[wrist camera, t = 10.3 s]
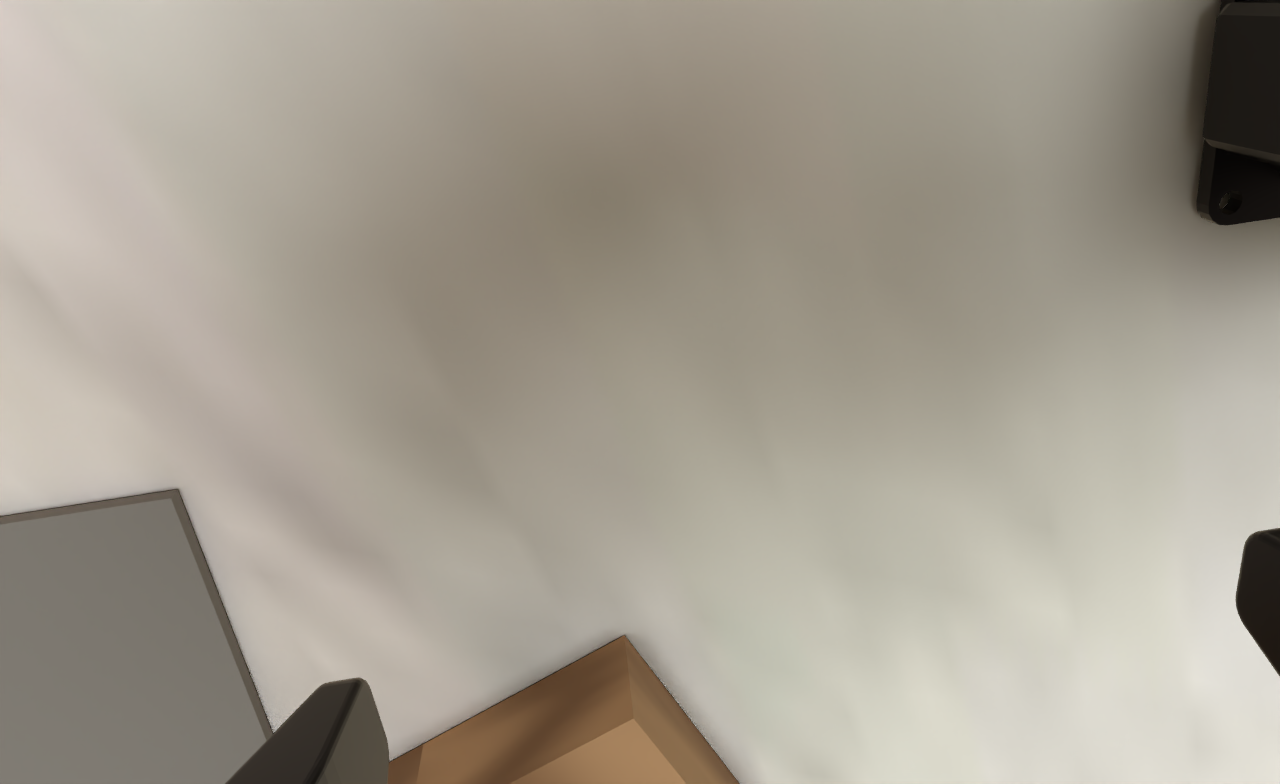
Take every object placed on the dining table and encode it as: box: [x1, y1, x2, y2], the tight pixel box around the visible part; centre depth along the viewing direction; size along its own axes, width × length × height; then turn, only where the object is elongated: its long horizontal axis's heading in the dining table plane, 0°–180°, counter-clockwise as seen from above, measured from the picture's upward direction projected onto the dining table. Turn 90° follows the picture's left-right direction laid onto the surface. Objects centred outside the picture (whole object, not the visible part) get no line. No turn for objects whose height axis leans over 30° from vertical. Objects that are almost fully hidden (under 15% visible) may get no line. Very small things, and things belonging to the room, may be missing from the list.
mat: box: [0, 489, 273, 784], centre depth 23 cm, size 10×10×1 cm
